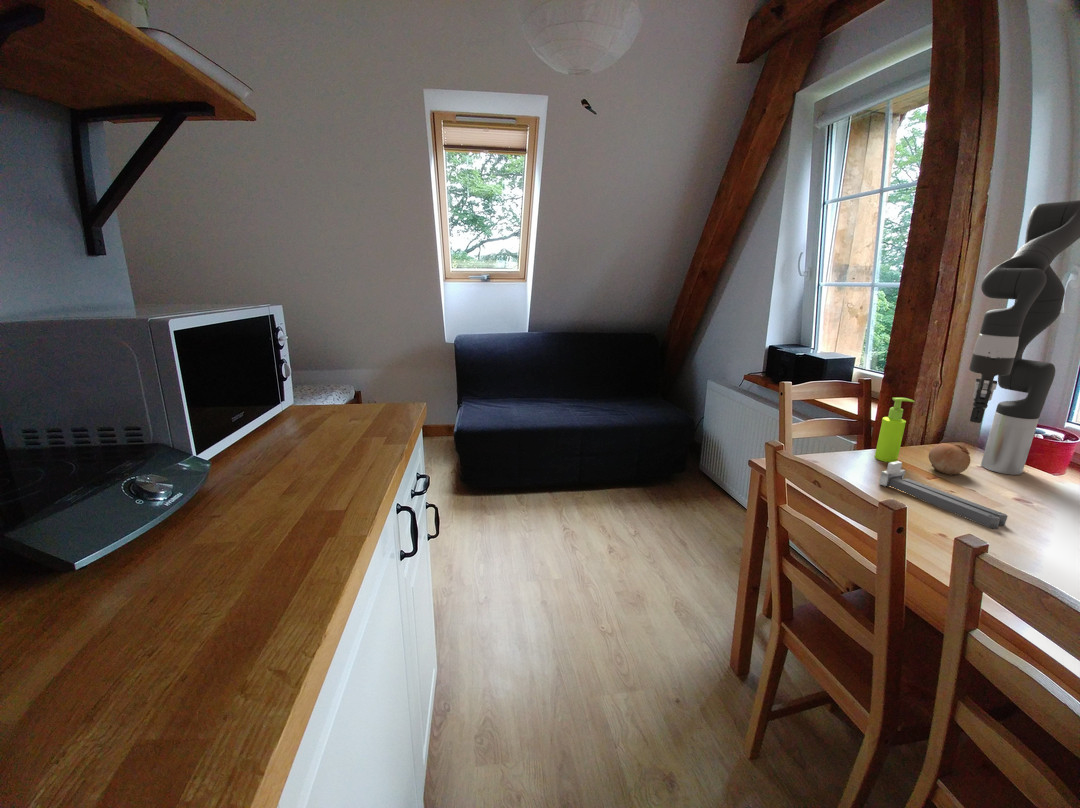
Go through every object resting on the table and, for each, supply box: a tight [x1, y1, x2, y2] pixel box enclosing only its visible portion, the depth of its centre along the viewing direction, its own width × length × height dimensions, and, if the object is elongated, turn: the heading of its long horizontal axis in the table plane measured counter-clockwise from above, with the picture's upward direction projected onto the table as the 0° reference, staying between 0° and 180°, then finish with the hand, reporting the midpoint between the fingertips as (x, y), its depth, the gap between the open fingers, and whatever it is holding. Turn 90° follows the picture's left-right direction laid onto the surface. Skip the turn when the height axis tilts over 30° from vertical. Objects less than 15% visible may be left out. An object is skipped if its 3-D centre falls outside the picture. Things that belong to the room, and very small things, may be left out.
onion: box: [928, 442, 971, 476], centre depth 142 cm, size 10×9×10 cm
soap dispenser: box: [874, 397, 916, 463], centre depth 150 cm, size 6×7×20 cm
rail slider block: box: [878, 460, 906, 487], centre depth 134 cm, size 2×7×6 cm, turn 112°
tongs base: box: [887, 476, 1000, 530], centre depth 124 cm, size 26×5×2 cm, turn 22°
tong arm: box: [903, 477, 1009, 526], centre depth 123 cm, size 22×2×2 cm, turn 24°
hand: (975, 421), depth 121 cm, fingers closed
